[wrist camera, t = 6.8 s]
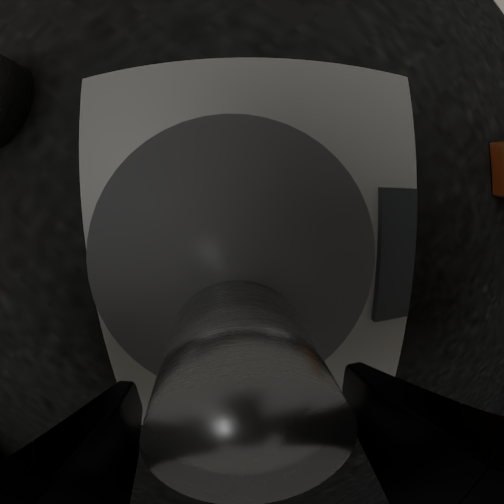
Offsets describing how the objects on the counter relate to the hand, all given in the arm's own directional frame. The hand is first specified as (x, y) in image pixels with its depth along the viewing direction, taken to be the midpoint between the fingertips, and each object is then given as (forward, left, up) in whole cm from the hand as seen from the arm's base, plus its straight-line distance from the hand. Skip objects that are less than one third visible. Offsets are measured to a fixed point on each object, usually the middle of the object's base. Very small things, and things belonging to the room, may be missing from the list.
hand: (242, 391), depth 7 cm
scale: (+3, -1, -5) cm, 6 cm away
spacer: (0, 0, -3) cm, 3 cm away
